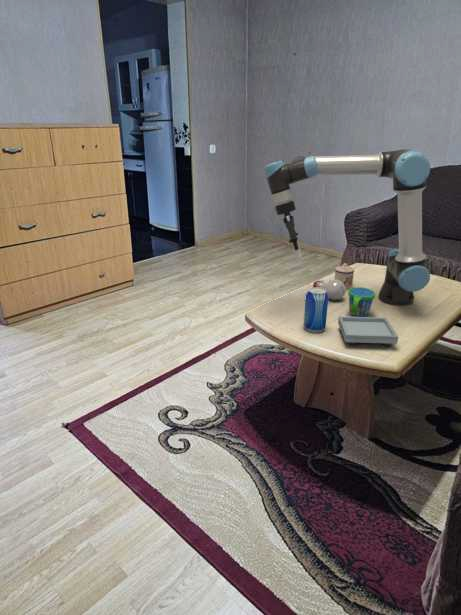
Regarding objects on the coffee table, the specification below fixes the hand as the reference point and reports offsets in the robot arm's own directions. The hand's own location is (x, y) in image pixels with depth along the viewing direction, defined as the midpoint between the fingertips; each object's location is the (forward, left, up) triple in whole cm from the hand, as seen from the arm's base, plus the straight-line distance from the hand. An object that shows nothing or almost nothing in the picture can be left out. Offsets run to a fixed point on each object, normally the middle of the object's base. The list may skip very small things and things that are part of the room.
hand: (298, 254), depth 175 cm
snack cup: (-26, +1, -25) cm, 36 cm away
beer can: (-6, +16, -25) cm, 31 cm away
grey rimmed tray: (-24, +23, -25) cm, 42 cm away
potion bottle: (-16, -17, -25) cm, 34 cm away
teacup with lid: (-26, -33, -25) cm, 49 cm away
